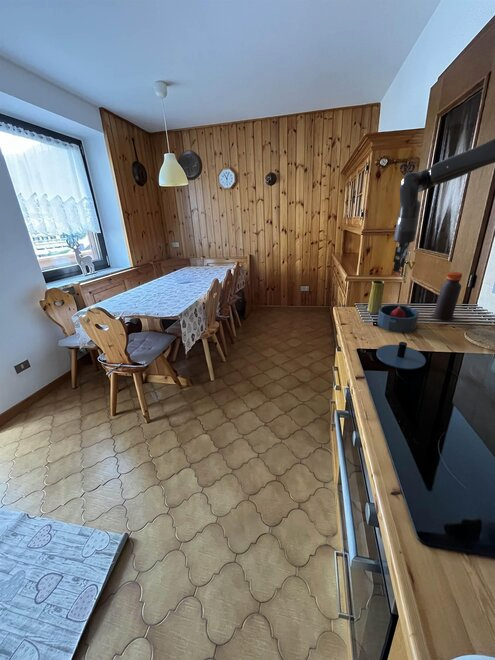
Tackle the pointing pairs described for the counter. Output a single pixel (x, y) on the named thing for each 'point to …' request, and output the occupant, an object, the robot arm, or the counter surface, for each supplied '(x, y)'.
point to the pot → (397, 319)
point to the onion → (398, 313)
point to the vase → (376, 296)
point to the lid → (401, 356)
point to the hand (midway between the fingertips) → (398, 269)
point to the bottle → (448, 297)
